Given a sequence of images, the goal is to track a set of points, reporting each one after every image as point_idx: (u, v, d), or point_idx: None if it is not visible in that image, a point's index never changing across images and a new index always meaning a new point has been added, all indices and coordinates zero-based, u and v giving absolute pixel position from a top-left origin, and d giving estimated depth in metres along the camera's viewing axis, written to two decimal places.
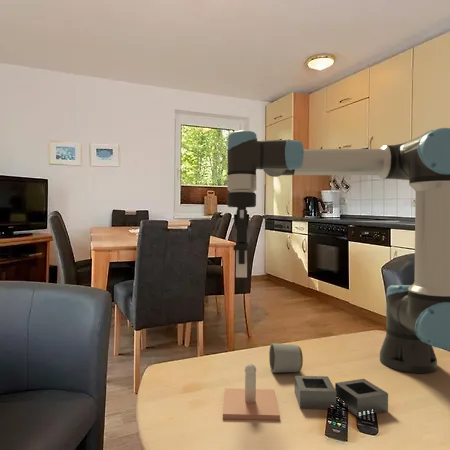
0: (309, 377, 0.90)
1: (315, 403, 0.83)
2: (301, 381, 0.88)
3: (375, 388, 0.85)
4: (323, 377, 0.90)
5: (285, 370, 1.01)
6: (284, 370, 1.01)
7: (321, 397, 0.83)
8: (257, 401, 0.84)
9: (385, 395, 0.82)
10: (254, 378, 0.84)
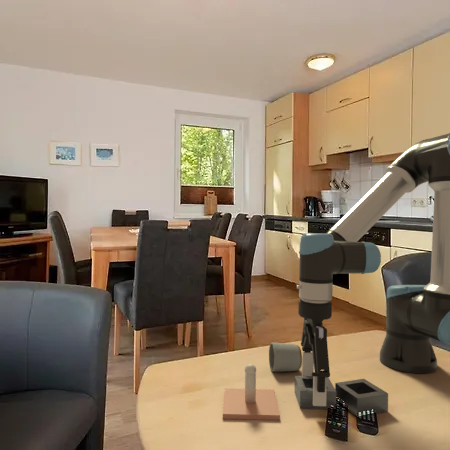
0: (309, 377, 0.90)
1: None
2: (301, 381, 0.88)
3: (375, 388, 0.85)
4: None
5: (284, 369, 1.02)
6: (283, 369, 1.02)
7: None
8: (257, 401, 0.84)
9: (385, 395, 0.82)
10: (254, 378, 0.84)
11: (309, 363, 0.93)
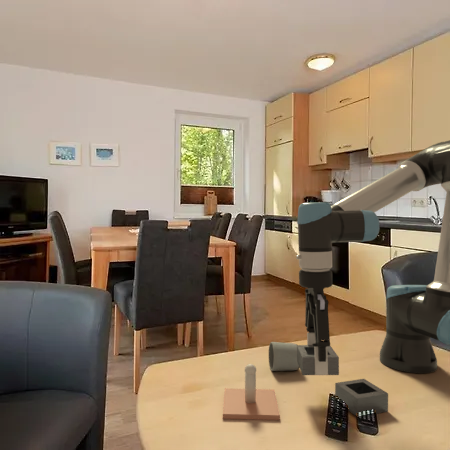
0: (311, 346, 0.90)
1: None
2: (303, 349, 0.88)
3: (375, 388, 0.85)
4: None
5: (284, 368, 1.02)
6: (283, 368, 1.02)
7: None
8: (257, 401, 0.84)
9: (385, 395, 0.82)
10: (254, 378, 0.84)
11: (314, 343, 0.91)
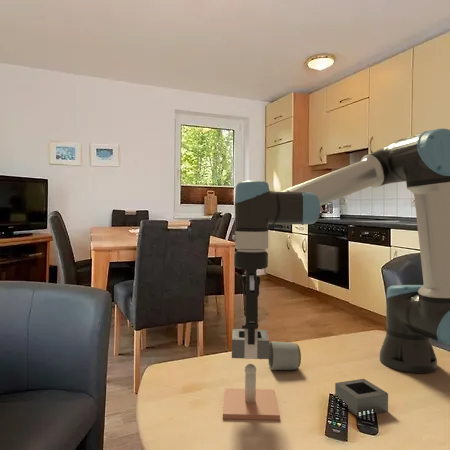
0: None
1: None
2: (237, 333, 0.85)
3: (375, 388, 0.85)
4: (261, 330, 0.88)
5: (283, 367, 1.03)
6: (282, 367, 1.03)
7: None
8: (257, 401, 0.84)
9: (385, 395, 0.82)
10: (254, 378, 0.84)
11: None
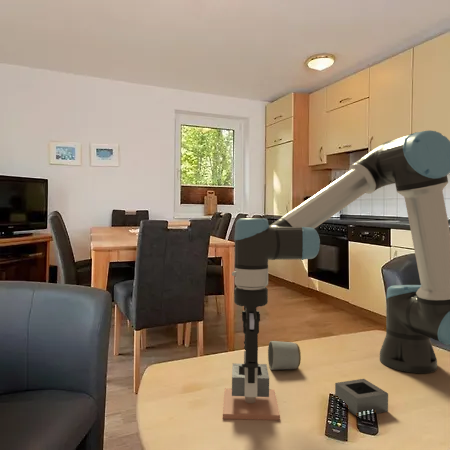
0: None
1: None
2: (237, 368, 0.85)
3: (375, 388, 0.85)
4: (261, 364, 0.88)
5: (283, 367, 1.03)
6: (282, 367, 1.03)
7: None
8: (257, 401, 0.84)
9: (385, 395, 0.82)
10: None
11: None
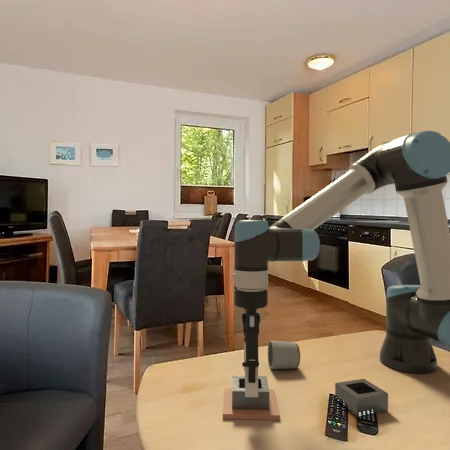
0: None
1: (247, 404, 0.80)
2: (237, 381, 0.85)
3: (375, 388, 0.85)
4: (261, 376, 0.88)
5: (283, 367, 1.03)
6: (282, 367, 1.03)
7: (254, 397, 0.80)
8: None
9: (385, 395, 0.82)
10: None
11: None
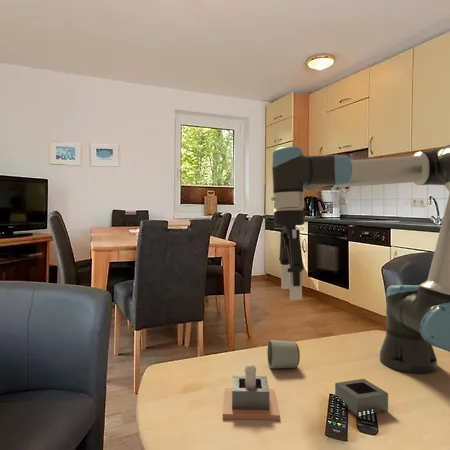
0: None
1: (247, 404, 0.80)
2: (237, 381, 0.85)
3: (375, 388, 0.85)
4: (261, 376, 0.88)
5: (282, 366, 1.04)
6: (281, 366, 1.04)
7: (254, 397, 0.80)
8: None
9: (385, 395, 0.82)
10: (254, 378, 0.84)
11: (287, 274, 1.01)
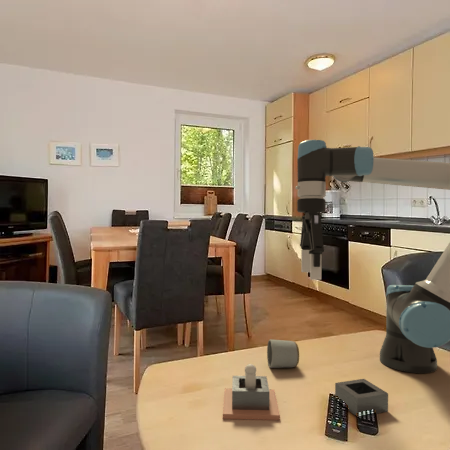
0: None
1: (247, 404, 0.80)
2: (237, 381, 0.85)
3: (375, 388, 0.85)
4: (261, 376, 0.88)
5: (282, 365, 1.04)
6: (281, 365, 1.04)
7: (254, 397, 0.80)
8: None
9: (385, 395, 0.82)
10: (254, 378, 0.84)
11: (307, 258, 1.09)
